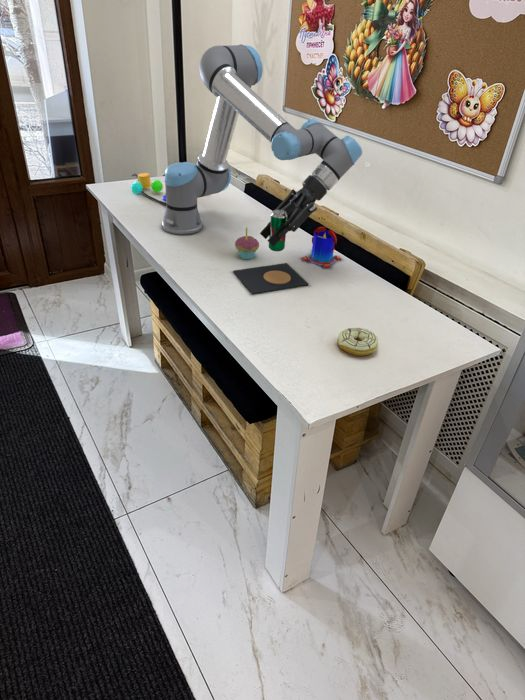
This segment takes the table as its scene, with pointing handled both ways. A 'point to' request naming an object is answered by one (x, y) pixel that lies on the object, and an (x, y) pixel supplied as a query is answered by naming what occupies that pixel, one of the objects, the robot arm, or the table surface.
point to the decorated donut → (357, 341)
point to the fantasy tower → (323, 248)
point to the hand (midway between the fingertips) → (266, 239)
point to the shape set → (146, 184)
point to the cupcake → (247, 246)
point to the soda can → (276, 221)
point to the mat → (270, 278)
